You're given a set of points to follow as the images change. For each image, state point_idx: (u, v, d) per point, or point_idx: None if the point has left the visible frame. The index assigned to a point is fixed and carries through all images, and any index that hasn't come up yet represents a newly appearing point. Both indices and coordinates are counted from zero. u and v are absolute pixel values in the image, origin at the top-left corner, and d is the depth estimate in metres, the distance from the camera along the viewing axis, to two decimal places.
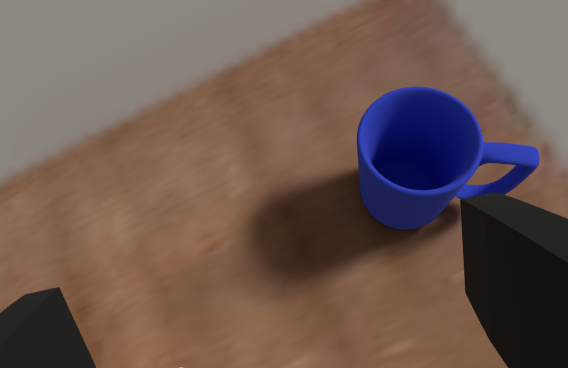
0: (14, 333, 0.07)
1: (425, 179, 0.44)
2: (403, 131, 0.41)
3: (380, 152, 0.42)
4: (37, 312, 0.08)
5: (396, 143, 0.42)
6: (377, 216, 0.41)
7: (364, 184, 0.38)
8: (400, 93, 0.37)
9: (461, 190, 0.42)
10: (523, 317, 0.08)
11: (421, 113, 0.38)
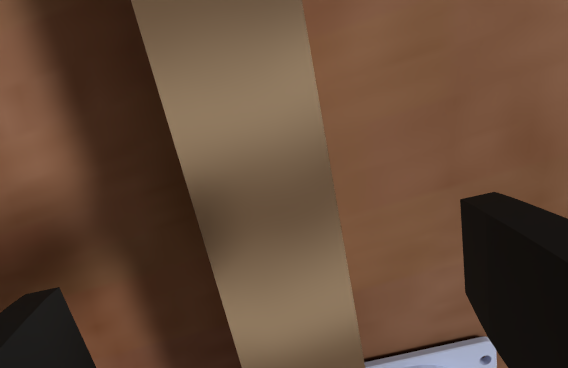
0: (14, 333, 0.07)
1: None
2: None
3: None
4: (37, 312, 0.08)
5: None
6: None
7: None
8: None
9: None
10: (523, 317, 0.08)
11: None
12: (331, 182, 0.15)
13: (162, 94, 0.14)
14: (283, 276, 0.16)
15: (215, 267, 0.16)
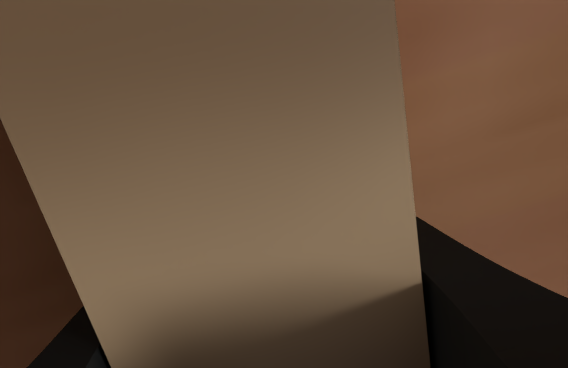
0: None
1: None
2: None
3: None
4: None
5: None
6: None
7: None
8: None
9: None
10: None
11: None
12: None
13: (69, 259, 0.06)
14: None
15: None
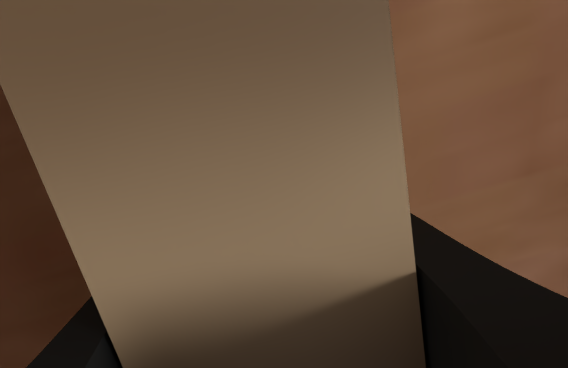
0: None
1: None
2: None
3: None
4: None
5: None
6: None
7: None
8: None
9: None
10: None
11: None
12: None
13: (75, 242, 0.06)
14: None
15: None
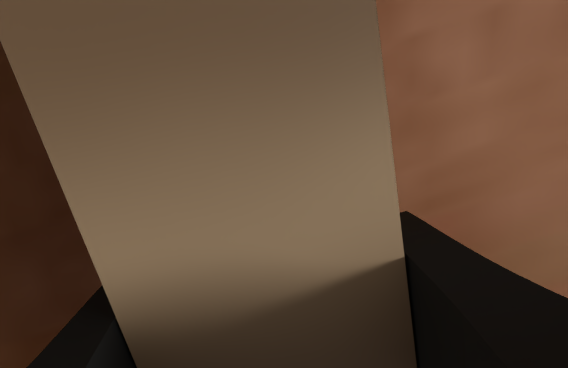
0: None
1: None
2: None
3: None
4: None
5: None
6: None
7: None
8: None
9: None
10: (420, 340, 0.08)
11: None
12: (413, 366, 0.08)
13: (85, 229, 0.07)
14: None
15: None
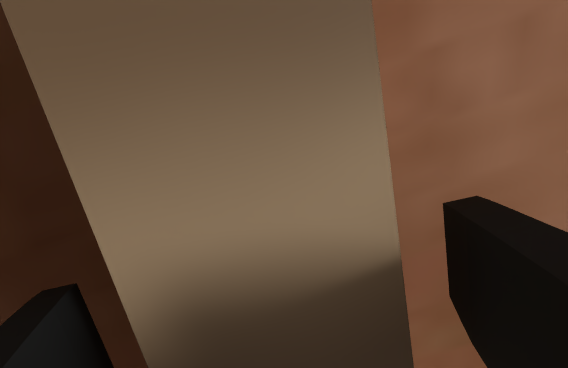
0: (35, 328, 0.07)
1: None
2: None
3: None
4: (56, 308, 0.08)
5: None
6: None
7: None
8: None
9: None
10: (503, 322, 0.08)
11: None
12: (408, 351, 0.08)
13: (93, 217, 0.07)
14: None
15: None
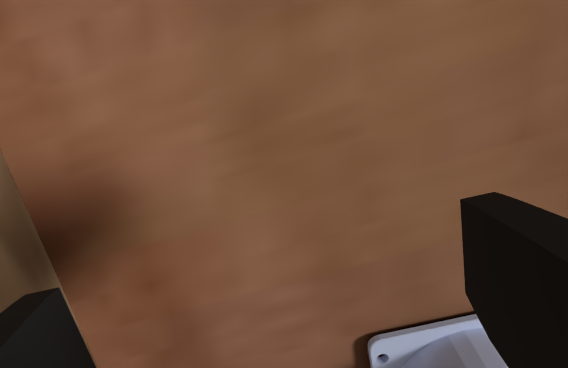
0: (14, 333, 0.07)
1: None
2: None
3: None
4: (37, 312, 0.08)
5: None
6: None
7: None
8: None
9: None
10: (523, 317, 0.08)
11: None
12: None
13: None
14: None
15: None
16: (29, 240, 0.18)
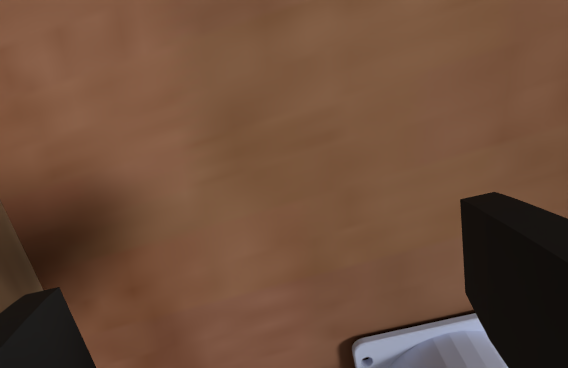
0: (14, 333, 0.07)
1: None
2: None
3: None
4: (37, 312, 0.08)
5: None
6: None
7: None
8: None
9: None
10: (523, 317, 0.08)
11: None
12: None
13: None
14: None
15: None
16: (10, 246, 0.18)
